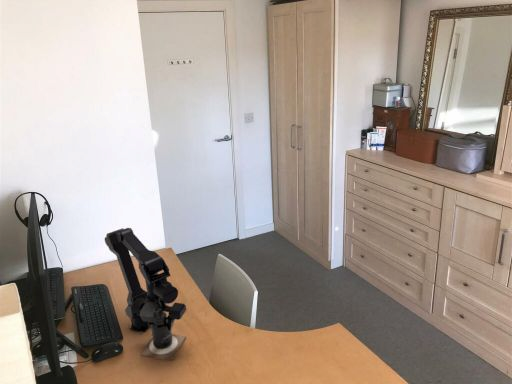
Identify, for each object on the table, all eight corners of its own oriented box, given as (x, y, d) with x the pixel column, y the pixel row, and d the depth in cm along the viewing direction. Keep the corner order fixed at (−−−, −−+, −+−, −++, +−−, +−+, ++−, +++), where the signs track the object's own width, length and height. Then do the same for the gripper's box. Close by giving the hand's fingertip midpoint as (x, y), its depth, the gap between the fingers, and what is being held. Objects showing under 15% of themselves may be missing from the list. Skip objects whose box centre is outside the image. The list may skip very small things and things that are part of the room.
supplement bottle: (168, 350, 155) (164, 322, 151) (150, 349, 156) (145, 320, 152) (175, 338, 161) (172, 310, 157) (158, 336, 163) (153, 308, 158)
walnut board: (140, 355, 156) (140, 353, 155) (156, 333, 166) (156, 331, 166) (172, 361, 152) (171, 358, 152) (186, 338, 163) (185, 335, 163)
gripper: (118, 300, 146) (125, 339, 152) (170, 307, 141) (175, 347, 147) (135, 282, 156) (141, 319, 162) (184, 288, 151) (189, 326, 157)
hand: (161, 328), depth 157 cm, fingers open, 7 cm apart
